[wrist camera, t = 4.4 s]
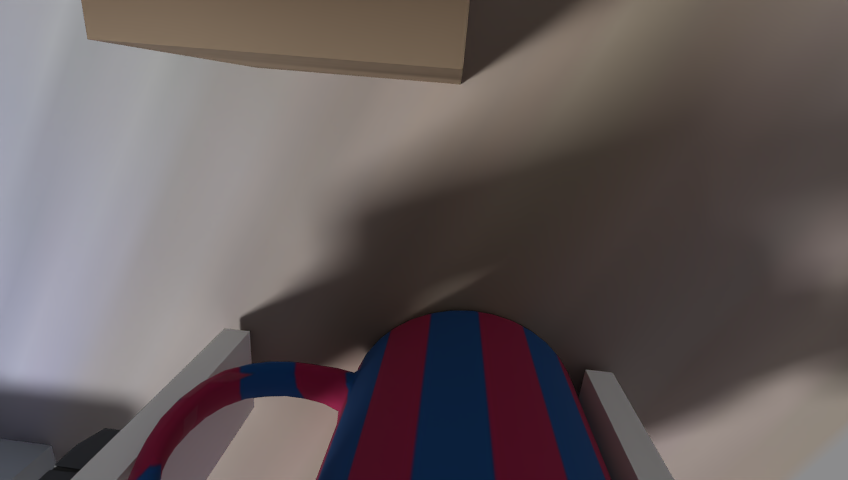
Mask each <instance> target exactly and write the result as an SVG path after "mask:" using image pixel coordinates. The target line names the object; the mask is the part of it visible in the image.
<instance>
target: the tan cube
mask: <svg viewBox="0 0 848 480" xmlns="http://www.w3.org/2000/svg"><path fill="white" fill-rule="evenodd" d="M81 1H82V8H83V14H84V20H85V26H86V32H87V38H88V39H90V40H96V41H102V42H108V43H114V44H119V45H125V46H131V47H137V48H143V49H149V50H155V51H161V52H167V53H173V54H179V55H185V56H191V57H197V58H203V59H209V60H215V61H221V62H227V63H233V64H239V65H245V66H251V67H257V68H269V69H281V70H293V71H305V72H317V73H329V74H341V75H354V76H366V77H378V78H390V79H402V80H414V81H426V82H438V83H450V84H461V78H462V72H463V63H464V54H465V44H466V34H467V24H468V14H469V5H470V0H81Z"/></svg>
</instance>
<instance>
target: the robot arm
mask: <svg viewBox="0 0 848 480" xmlns="http://www.w3.org/2000/svg"><path fill="white" fill-rule="evenodd" d="M247 364H252V361H251V344H250V331H243V330H234V329H224V330H223V331H222V332H221V333H220V334H219V335H218V336H216V337H215V338H214V339H213V340H212V341H211V342H210V343H209V344H208V345H207V346H206V347H205V348H204V349H203V350H202V351H201V352H200V353H199V354H198V355H197V356H196V357H195V358H194V359H193V360H192V361H191V362H190V363H189V364H188V365H187V366H186V367H185V368H184V369H183V370H182V371H181V372H180V373H179V374H178V375H177V376H176V377H175V378H174V379H173V380H172V381H171V382H170V383H169V384H168V385H167V386H165V387H164V388H163V389H162V390H161V391H160V392H159V393H158V394H157V395H156V396H155V397H154V398H153V399H152V400H151V401H150V402H149V403H148V404H147V405H146V406H145V407H144V408H143V409H142V410H141V411H140V412H139V413H138V414H137V415H136V416H135V417H134V418H133V419H132V420H131V421H130V422H129V423H128V424H127V425H126V426H125V427H124V428H123V429H122V430H114V429H107V428H105V429H103V430H101V431H100V432H98V433H96V434H95V435H93V436H91V437H89V438H88V439H86V440H84V441H83V442H81V443H79V444H78V445H76V446H75V447H74V448H73V449H72V450H71V451H70V452H69V453H67V454H66V455H65V456H64V457H63V458H62V459H61V460H60V461H59V462H57V463H56V464H55V465H54V468H53V469H52V470H49V471H48V472H46V473H45V474H44V475H43V476H42V477H41V478H40V479H39V480H128V478H129V475H130V473H131V471H132V468H133V466H134V464H135V461H136V459H137V457H138V454H139V453H140V451H141V449H142V447H143V445H144V443H145V441H146V439H147V438H148V436H149V435H150V434H151V432H152V431H153V429H154V428H155V426H156V425H157V423H158V422H159V420H160V419H161V417H162V416H163V415H164V414H165V413H166V412H167V411H168V410H169V409H170V408H171V407H172V406H173V405H174V404H175V403H176V402H177V401H178V400H179V399H180V398H181V397H183V396H184V395H185V394H187V393H188V392H189V391H191V390H192V389H193V388H195V387H196V386H197V385H199V384H200V383H201V382H203V381H205V380H207V379H209V378H211V377H213V376H215V375H217V374H218V373H220V372H222V371H224V370H228V369H232V368H236V367H240V366H243V365H247ZM578 399H579V401H580V403H581V406H582V408H583V411H584V413H585V416H586V418H587V421H588V423H589V426H590V428H591V430H592V433H593V435H594V438H595V440H596V443H597V445H598V448H599V450H600V452H601V455H602V457H603V460H604V462H605V465H606V467H607V470H608V472H609V475H610V477H611V479H612V480H674V479H673V477H672V475H671V473H670V472H669V470H668V468H667V466H666V465H665V463H664V461H663V459H662V458H661V456H660V454H659V452H658V451H657V449H656V447H655V446H654V444H653V442H652V440H651V439H650V437H649V435H648V433H647V432H646V430H645V428H644V426H643V425H642V423H641V421H640V419H639V418H638V416H637V414H636V412H635V411H634V409H633V407H632V405H631V404H630V402H629V400H628V399H627V397H626V395H625V393H624V392H623V390H622V388H621V386H620V385H619V383H618V381H617V379H616V378H615V376H614V374H613V373H612V372H603V371H594V370H585V374H584V378H583V382H582V386H581V390H580V394H579V398H578ZM253 408H254V398H248V399H244V400H241V401H238V402H236V403H233V404H230V405H227V406H225V407H223V408H221V409H219V410H218V411H216V412H215V413H213V414H211V415H210V416H208V417H206V418H205V419H204V420H203V421H202V422H200V423H199V424H198V425H197V426H196V427H195V428H194V429H192V430H191V431H190V432H189V433H188V434H187V435H186V436H185V438H184V439H183V440H182V441H181V442H180V443H179V444H178V445H177V446H176V447H175V449H174V450H173V452H172V453H171V455H170V456H169V458H168V460H167V462H166V464H165V467H164V469H163V471H162V476H161V480H206V479H207V477H208V476H209V474H210V473H211V471H212V470H213V468H214V467H215V465H216V464H217V462H218V461H219V459H220V458H221V456H222V455H223V453H224V452H225V450H226V449H227V447H228V446H229V444H230V443H231V441H232V440H233V438H234V437H235V435H236V434H237V432H238V431H239V429H240V428H241V426H242V424H243V423H244V421H245V420H246V418H247V417H248V415H249V414H250V412H251V411H252V409H253Z"/></svg>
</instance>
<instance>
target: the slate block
mask: <svg viewBox="0 0 848 480" xmlns="http://www.w3.org/2000/svg"><path fill="white" fill-rule="evenodd" d="M55 464H56V461H55V457H54V453H53V449H52V445H46V444H38V443H30V442H23V441H15V440H8V439H0V480H39V479H40V478H41V477H42V476H43V475H44V474H45V473H46V472H48V471H49V470H52V469H53V468H54V465H55Z"/></svg>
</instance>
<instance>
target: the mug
mask: <svg viewBox="0 0 848 480" xmlns="http://www.w3.org/2000/svg"><path fill="white" fill-rule="evenodd" d="M266 396H290V397H297V398H304V399H309V400H313V401H317V402H320V403H323V404H326V405H327V406H329V407H331V408H333V409H335V410H337V411H339V413H338V420H337V425H336V428H335V431H334V433H333V436H332V439H331V441H330V444H329V447H328V449H327V452H326V454H325V457H324V460H323V462H322V465H321V468H320V470H319V473H318V476H317V478H316V480H612V479H611V477H610V475H609V472H608V470H607V467H606V465H605V462H604V460H603V457H602V455H601V452H600V450H599V448H598V445H597V443H596V440H595V438H594V435H593V433H592V430H591V428H590V426H589V423H588V421H587V418H586V416H585V413H584V411H583V408H582V406H581V403H580V401H579V399H578V396H577V394H576V391H575V389H574V386H573V384H572V381H571V379H570V377H569V374H568V372H567V370H566V368H565V367H564V365H563V363H562V362H561V360H560V358H559V357H558V356H557V354H556V353H555V352H554V351H553V350H552V349H551V348H550V346H549V345H548V344H547V343H546V342H545V341H543V340H542V339H541V338H539V337H538V336H537V335H536V334H534V333H533V332H532V331H530V330H528V329H527V328H525V327H523V326H521V325H519V324H517V323H515V322H514V321H511V320H508V319H505V318H502V317H499V316H496V315H493V314H488V313H482V312H476V311H444V312H437V313H430V314H427V315H424V316H421V317H418V318H414V319H411V320H409V321H407V322H405V323H403V324H401V325H399V326H397V327H395V328H394V329H392V330H391V331H390V332H388V333H387V334H386V335H384V336H383V337H382V338H381V339H379V340H378V341H377V343H376V344H375V345H374V346H373V347H372V348H371V349H370V350H369V351H368V352H367V354H366V356H365V358H364V359H363V361H362V363H361V364H360V366H359V368H358V371H356V372H355V373H353V372H350V371H346V370H342V369H339V368H333V367H327V366H321V365H315V364H308V363H299V362H262V363H253V364H247V365H243V366H240V367H236V368H232V369H228V370H224V371H222V372H220V373H218V374H217V375H215V376H213V377H211V378H209V379H207V380H205V381H203V382H201V383H200V384H199V385H197V386H196V387H195V388H193V389H192V390H191V391H189V392H188V393H187V394H185V395H184V396H183V397H181V398H180V399H179V400H178V401H177V402H176V403H175V404H174V405H173V406H172V407H171V408H170V409H169V410H168V411H167V412H166V413H165V414H164V415H163V416H162V417H161V419H160V420H159V422H158V423H157V425H156V426H155V428H154V429H153V431H152V432H151V434H150V435H149V436H148V438H147V439H146V441H145V443H144V445H143V447H142V449H141V451H140V453H139V454H138V457H137V459H136V461H135V464H134V466H133V468H132V471H131V473H130V475H129V478H128V480H161V476H162V471H163V469H164V467H165V464H166V462H167V460H168V458H169V456H170V455H171V453H172V452H173V450H174V449H175V447H176V446H177V445H178V444H179V443H180V442H181V441H182V440H183V439H184V438H185V436H186V435H187V434H188V433H189V432H190V431H191V430H192V429H194V428H195V427H196V426H197V425H198V424H199V423H200V422H202V421H203V420H204V419H205V418H206V417H208V416H210V415H211V414H213V413H215V412H216V411H218V410H219V409H221V408H223V407H225V406H227V405H230V404H233V403H236V402H238V401H241V400H244V399H248V398H257V397H266Z"/></svg>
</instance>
